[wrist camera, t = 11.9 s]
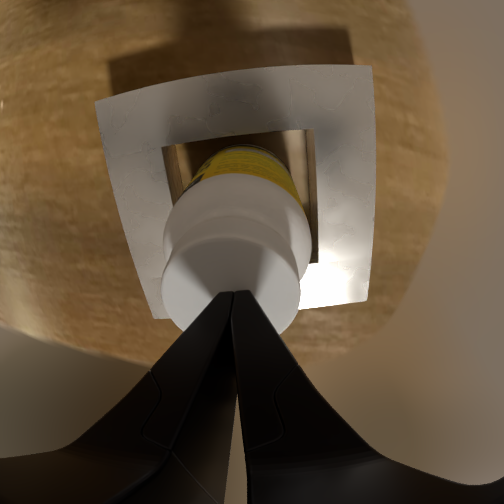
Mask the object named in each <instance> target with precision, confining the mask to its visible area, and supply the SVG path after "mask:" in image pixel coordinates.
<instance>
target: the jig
mask: <svg viewBox="0 0 504 504" xmlns="http://www.w3.org/2000/svg"><path fill="white" fill-rule="evenodd" d="M95 108H96V113H97V119H98V125H99V130H100V135H101V140H102V145H103V150H104V154H105V159H106V163H107V167H108V172H109V176H110V180H111V184H112V188H113V192H114V196H115V200H116V204H117V207H118V211H119V215H120V218H121V222H122V225H123V229H124V232H125V235H126V239H127V242H128V245H129V248H130V252H131V255H132V258H133V261H134V264H135V267H136V270H137V273H138V276H139V279H140V282H141V285H142V288H143V290H144V293H145V296H146V299H147V302H148V304H149V307H150V310H151V312H152V315H153V318H154V319H165V318H170V316H169V315H168V313H167V311H166V309H165V307H164V305H163V301H162V297H161V278H162V274H163V271H164V268H165V266H166V262H165V257H164V253H163V234H164V228H165V224H166V221H167V219H168V216H169V214H170V212H171V210H172V208H173V207H174V205H175V203H176V202H177V200H178V198H179V197H180V196H181V194H182V193H183V187H182V181H181V176H180V171H179V165H178V160H177V154H176V149H175V144H181V143H187V142H193V141H199V140H206V139H213V138H220V137H228V136H236V135H244V134H253V133H263V132H274V131H286V130H300V129H305V131H306V144H307V159H308V175H309V194H310V218H311V241H312V250H311V257H310V261H309V265H308V268H307V270H306V273H305V274H304V276H303V278H302V280H301V281H300V285H301V302H300V306H299V309H302V308H312V307H321V306H329V305H338V304H346V303H353V302H361V301H367V295H368V286H369V277H370V268H371V257H372V245H373V231H374V214H375V189H376V129H375V105H374V88H373V75H372V66H366V65H290V66H274V67H262V68H252V69H243V70H234V71H227V72H220V73H213V74H207V75H201V76H195V77H190V78H184V79H179V80H174V81H170V82H165V83H161V84H156V85H152V86H148V87H144V88H140V89H136V90H133V91H129V92H125V93H122V94H118V95H115V96H112V97H108V98H105V99H102V100H99V101H96V102H95Z"/></svg>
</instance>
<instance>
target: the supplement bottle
mask: <svg viewBox="0 0 504 504" xmlns="http://www.w3.org/2000/svg"><path fill="white" fill-rule="evenodd" d="M311 250H312V241H311V233H310V228H309V223H308V220H307V217H306V214H305V212H304V209H303V206H302V204H301V201H300V198H299V196H298V193H297V190H296V188H295V185H294V182H293V180H292V177H291V175H290V173H289V171H288V169H287V168H286V166H285V165H284V163H283V162H282V161H281V160H280V159H279V158H278V157H277V156H276V155H275V154H273V153H272V152H270V151H268V150H266V149H264V148H262V147H259V146H255V145H249V144H238V145H232V146H228V147H225V148H223V149H221V150H219V151H217V152H215V153H214V154H213V155H212V156H210V157H209V158H208V159H207V160H206V161H205V162H204V163H203V165H202V166H201V167H200V169H199V170H198V172H197V173H196V175H195V176H194V177H193V179H192V180H191V182H190V183H189V185H188V186H187V187H186V189H185V190H184V192H183V193H182V194H181V196H180V197H179V198H178V200H177V202H176V203H175V205H174V207H173V208H172V210H171V212H170V214H169V216H168V219H167V221H166V224H165V228H164V234H163V253H164V257H165V262H166V266H165V268H164V271H163V274H162V278H161V297H162V301H163V305H164V307H165V309H166V311H167V313H168V315H169V316H170V318H171V319H172V321H173V322H174V323H175V324H176V325H177V326H178V327H179V328H180V329H181V330H182V331H185V330H186V329H187V327H188V326H189V325H190V324H191V323H192V322H193V321H194V320H195V318H196V317H197V316H198V315H199V314H200V313H201V312H202V311H203V309H204V308H205V307H206V306H207V305H208V304H209V303H210V302H211V300H212V299H213V298H214V297H215V296H216V295H217V294H218V293H219V292H225V291H233V292H234V293H235V291H237V290H250V291H251V292H252V294H253V295H254V297H255V298H256V300H257V301H258V303H259V305H260V306H261V308H262V309H263V311H264V312H265V314H266V315H267V317H268V318H269V320H270V321H271V323H272V325H273V326H274V328H275V329H276V331H277V332H278V334H281V333H282V332H283V331H284V330H285V329H286V328H287V327H288V326H289V325H290V324H291V322H292V321H293V319H294V318H295V316H296V314H297V312H298V309H299V306H300V302H301V285H300V281H301V280H302V278H303V276H304V274H305V273H306V270H307V268H308V265H309V261H310V257H311Z"/></svg>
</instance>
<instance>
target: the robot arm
mask: <svg viewBox="0 0 504 504" xmlns="http://www.w3.org/2000/svg"><path fill="white" fill-rule="evenodd" d="M150 370H151V371H148V372H147V373H146V374H145V375H144V377H143V378H142V379H141V380H140V381H139V382H138V383H137V384H136V385H135V386H134V387H133V388H132V390H130V392H129V393H128V394H127V395H126V396H125V397H123V398H122V399H121V400H120V401H119V402H118V403H117V404H116V405H115V406H114V407H113V408H112V409H111V410H109V411H108V412H107V413H106V414H105V415H104V416H103V417H102V418H100V419H99V420H98V421H97V422H96V423H95V424H94V425H92V426H91V427H90V428H89V429H88V430H87V431H86V432H84V433H83V434H82V435H81V436H80V437H79V438H78V439H76V440H75V441H74V442H72V443H70V444H69V445H67V446H65V447H63V448H60V449H57V450H54V451H49V452H43V453H36V454H31V455H23V456H15V457H7V458H0V504H224V497H225V490H226V481H227V474H228V466H229V457H230V449H231V440H232V433H233V424H234V416H235V408H236V400H237V394H238V403H239V411H240V421H241V429H242V438H243V446H244V453H245V462H246V472H247V504H504V477H502V478H500V479H499V480H497V481H494V482H492V483H488V484H483V485H466V484H461V483H457V482H454V481H450V480H447V479H444V478H441V477H438V476H435V475H432V474H429V473H426V472H423V471H420V470H418V469H415V468H412V467H409V466H407V465H404V464H402V463H399V462H396V461H394V460H391V459H389V458H387V457H385V456H383V455H382V454H380V453H379V452H377V451H376V450H375V449H373V448H372V447H371V446H369V444H368V443H367V442H366V441H365V440H363V438H361V437H360V436H359V435H358V433H357V432H356V431H355V430H354V429H353V428H351V426H350V425H349V424H348V423H347V422H346V421H345V420H344V419H343V418H342V417H341V416H340V415H339V414H338V413H337V412H336V411H335V410H334V409H333V408H332V406H330V404H329V403H328V402H327V401H326V400H325V399H324V397H323V396H322V395H321V394H320V393H319V392H318V391H317V389H316V388H315V387H314V385H313V384H312V382H311V381H310V380H309V378H308V377H307V376H306V374H305V373H304V371H303V370H302V368H301V367H300V365H298V362H297V361H296V359H295V358H294V356H293V355H292V353H291V352H290V350H289V349H288V347H287V346H286V344H285V343H284V341H283V340H282V338H281V337H280V335H279V334H278V332H277V331H276V329H275V328H274V326H273V325H272V323H271V321H270V320H269V318H268V317H267V315H266V314H265V312H264V311H263V309H262V308H261V306H260V305H259V303H258V301H257V300H256V298H255V297H254V295H253V294H252V292H251V291H250V290H237V291H235V293H234V292H233V291H225V292H219V293H218V294H217V295H216V296H215V297H214V298H213V299H212V300H211V302H210V303H209V304H208V305H207V306H206V307H205V308H204V309H203V311H202V312H201V313H200V314H199V315H198V316H197V317H196V318H195V320H194V321H193V322H192V323H191V324H190V325H189V326H188V327H187V329H186V330H185V331H184V332H183V333H182V334H181V335H180V336H179V337H178V339H177V340H176V341H175V342H174V343H173V344H172V345H171V346H170V348H169V349H168V350H167V351H166V352H165V353H164V354H163V355H162V357H161V358H160V359H159V360H158V361H157V362H156V363H155V364H154V365H153V367H152V368H151V369H150Z"/></svg>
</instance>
